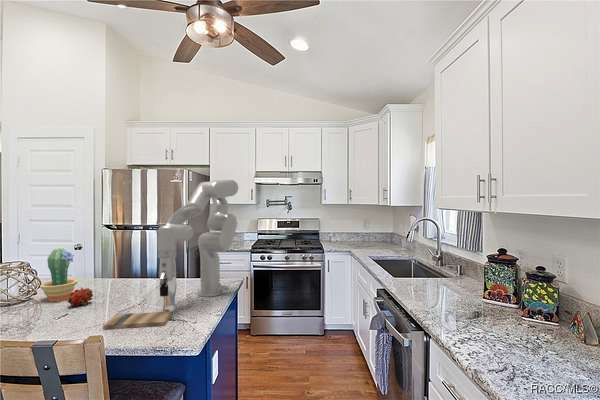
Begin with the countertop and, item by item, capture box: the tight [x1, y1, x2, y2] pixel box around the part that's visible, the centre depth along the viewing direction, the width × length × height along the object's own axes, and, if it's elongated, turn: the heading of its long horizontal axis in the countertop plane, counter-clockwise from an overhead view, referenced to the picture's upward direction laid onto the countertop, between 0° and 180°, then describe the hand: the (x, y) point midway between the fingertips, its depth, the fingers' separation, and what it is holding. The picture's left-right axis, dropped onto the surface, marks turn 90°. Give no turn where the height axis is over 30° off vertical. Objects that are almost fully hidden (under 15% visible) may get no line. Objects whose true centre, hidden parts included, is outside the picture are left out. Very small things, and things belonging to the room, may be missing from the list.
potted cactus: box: [39, 247, 78, 303], centre depth 163 cm, size 15×16×25 cm
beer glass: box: [159, 274, 178, 313], centre depth 143 cm, size 7×7×15 cm
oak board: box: [102, 311, 173, 331], centre depth 130 cm, size 22×12×2 cm, turn 98°
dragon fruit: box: [67, 287, 94, 308], centre depth 152 cm, size 8×8×12 cm
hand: (167, 293), depth 143 cm, fingers open, 9 cm apart
